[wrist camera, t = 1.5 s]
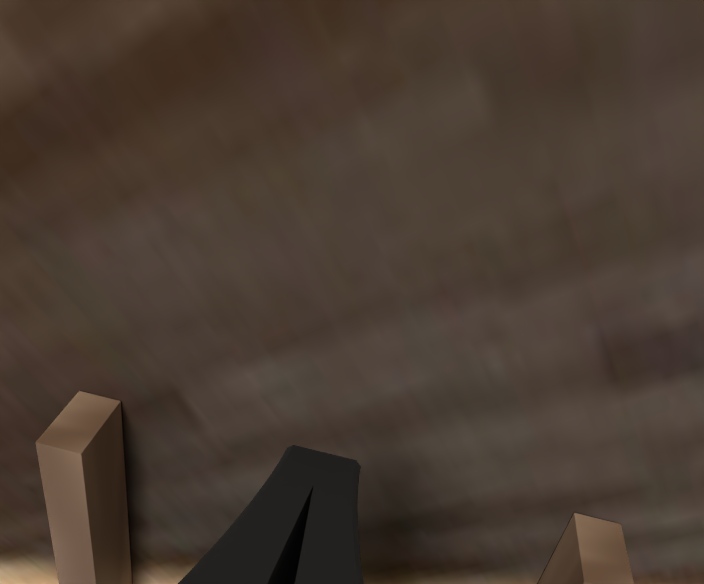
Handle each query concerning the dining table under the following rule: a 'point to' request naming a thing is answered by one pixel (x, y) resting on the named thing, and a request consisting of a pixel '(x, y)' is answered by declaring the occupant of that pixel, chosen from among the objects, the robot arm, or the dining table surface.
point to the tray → (112, 515)
